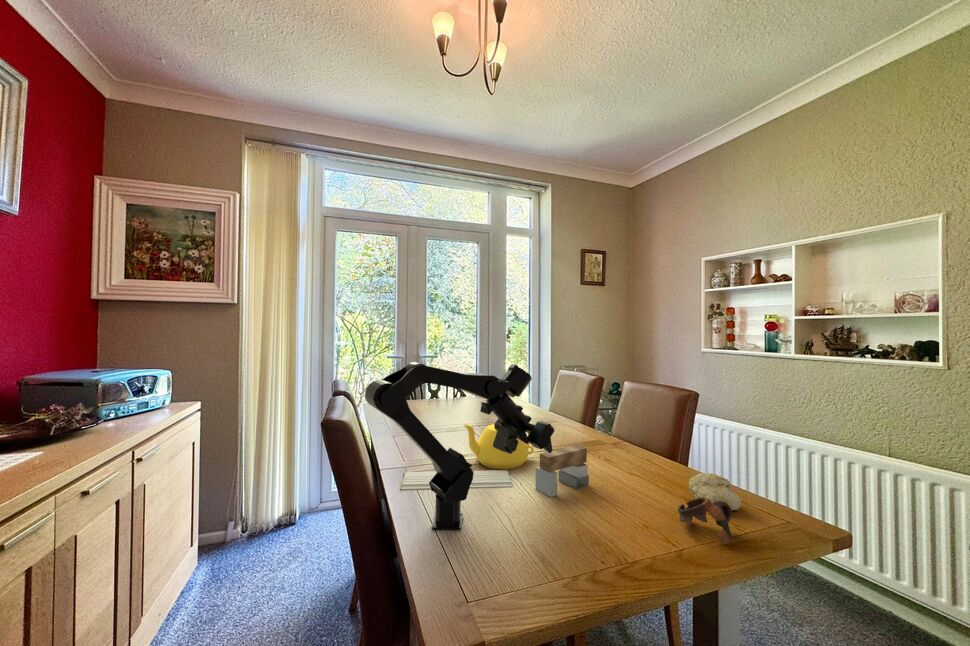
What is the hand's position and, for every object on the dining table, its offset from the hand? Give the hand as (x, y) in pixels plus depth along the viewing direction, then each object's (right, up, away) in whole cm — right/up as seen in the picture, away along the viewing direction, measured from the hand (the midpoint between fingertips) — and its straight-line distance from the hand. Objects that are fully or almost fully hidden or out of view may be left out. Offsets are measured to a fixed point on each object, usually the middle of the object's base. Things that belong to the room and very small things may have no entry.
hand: (539, 447), depth 99 cm
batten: (+8, -7, +5) cm, 11 cm away
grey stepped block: (+11, -13, +7) cm, 18 cm away
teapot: (-10, -13, +25) cm, 30 cm away
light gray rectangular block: (+2, -13, +1) cm, 13 cm away
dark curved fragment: (+35, -13, -18) cm, 41 cm away
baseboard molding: (-23, -13, +7) cm, 27 cm away
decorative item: (+44, -13, -4) cm, 46 cm away
